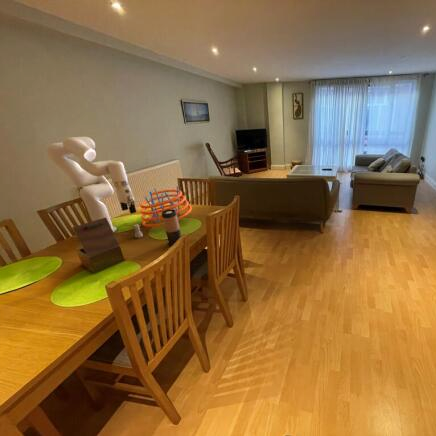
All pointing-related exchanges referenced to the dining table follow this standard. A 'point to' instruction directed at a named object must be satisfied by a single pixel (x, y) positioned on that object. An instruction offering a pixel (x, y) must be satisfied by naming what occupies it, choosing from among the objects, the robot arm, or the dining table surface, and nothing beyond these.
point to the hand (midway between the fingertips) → (129, 211)
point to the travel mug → (171, 225)
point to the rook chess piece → (137, 231)
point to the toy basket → (161, 203)
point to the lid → (96, 236)
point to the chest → (101, 259)
